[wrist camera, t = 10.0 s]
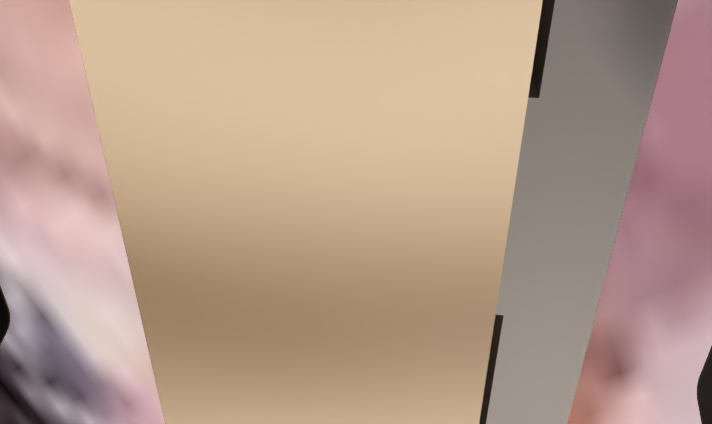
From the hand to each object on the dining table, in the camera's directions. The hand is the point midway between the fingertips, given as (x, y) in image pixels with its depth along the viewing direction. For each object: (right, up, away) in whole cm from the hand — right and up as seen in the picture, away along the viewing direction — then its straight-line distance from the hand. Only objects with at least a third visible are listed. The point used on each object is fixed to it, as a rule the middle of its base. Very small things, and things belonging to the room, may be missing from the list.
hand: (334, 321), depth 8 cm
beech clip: (+1, +3, +5) cm, 6 cm away
